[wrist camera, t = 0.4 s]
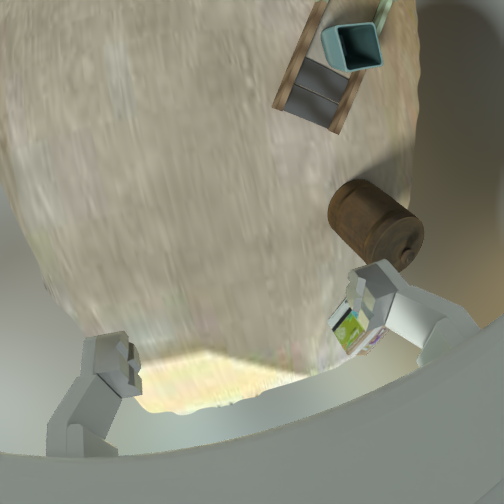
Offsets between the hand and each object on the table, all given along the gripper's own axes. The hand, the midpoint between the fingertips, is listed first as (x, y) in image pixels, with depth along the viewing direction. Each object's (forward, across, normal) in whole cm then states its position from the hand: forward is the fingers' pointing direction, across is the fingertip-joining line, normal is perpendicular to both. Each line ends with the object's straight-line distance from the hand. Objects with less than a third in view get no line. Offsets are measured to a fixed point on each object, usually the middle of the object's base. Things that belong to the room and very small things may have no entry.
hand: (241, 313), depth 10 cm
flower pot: (+49, -31, -8) cm, 58 cm away
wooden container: (+47, -35, +30) cm, 66 cm away
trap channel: (+48, -31, -8) cm, 58 cm away
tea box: (+46, -37, +66) cm, 89 cm away
